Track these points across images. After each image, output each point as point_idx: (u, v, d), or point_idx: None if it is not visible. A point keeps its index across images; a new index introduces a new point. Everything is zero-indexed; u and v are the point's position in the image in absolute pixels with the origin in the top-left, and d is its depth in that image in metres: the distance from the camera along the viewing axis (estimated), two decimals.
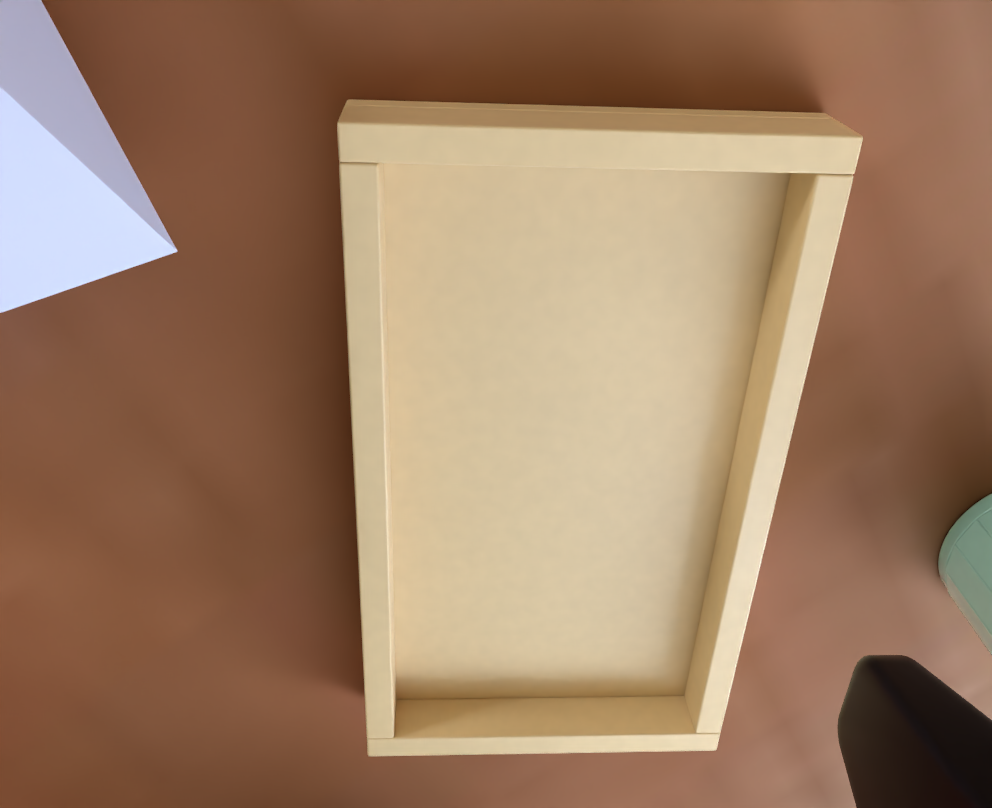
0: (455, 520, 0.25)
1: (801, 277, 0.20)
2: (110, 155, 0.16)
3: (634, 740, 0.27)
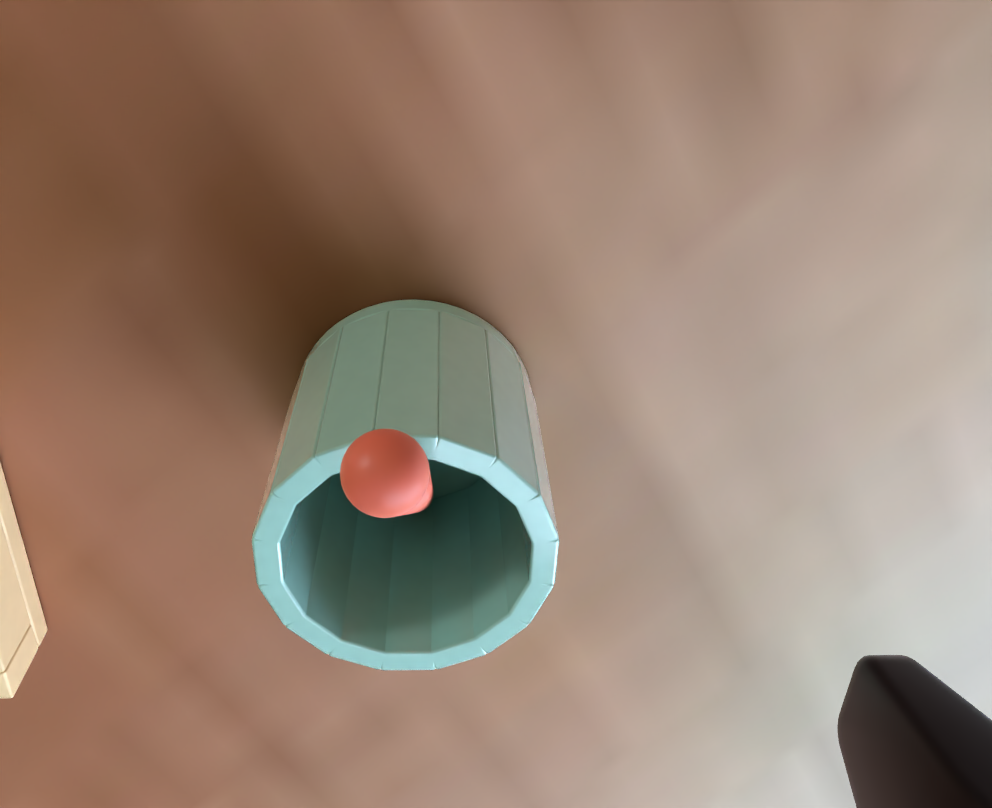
0: None
1: None
2: None
3: None
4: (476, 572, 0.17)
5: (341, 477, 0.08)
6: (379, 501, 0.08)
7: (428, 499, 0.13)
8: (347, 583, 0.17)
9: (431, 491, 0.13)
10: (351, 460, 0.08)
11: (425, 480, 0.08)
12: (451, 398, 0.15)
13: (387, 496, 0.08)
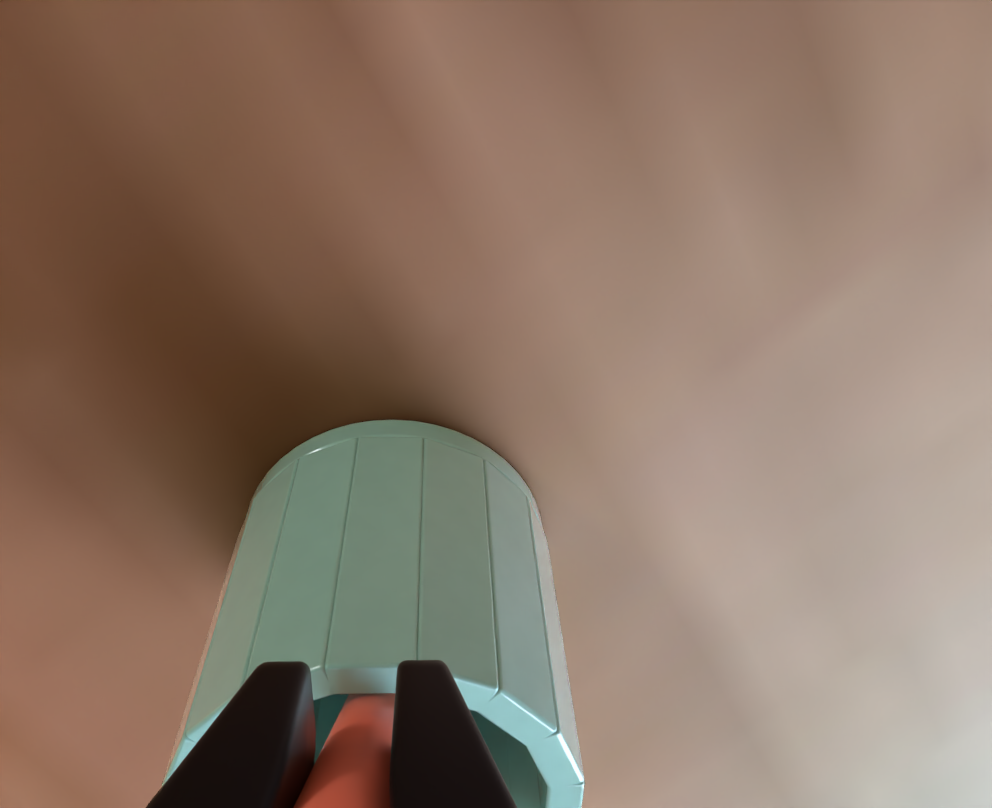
0: None
1: None
2: None
3: None
4: None
5: None
6: None
7: None
8: None
9: None
10: None
11: None
12: (436, 589, 0.11)
13: None
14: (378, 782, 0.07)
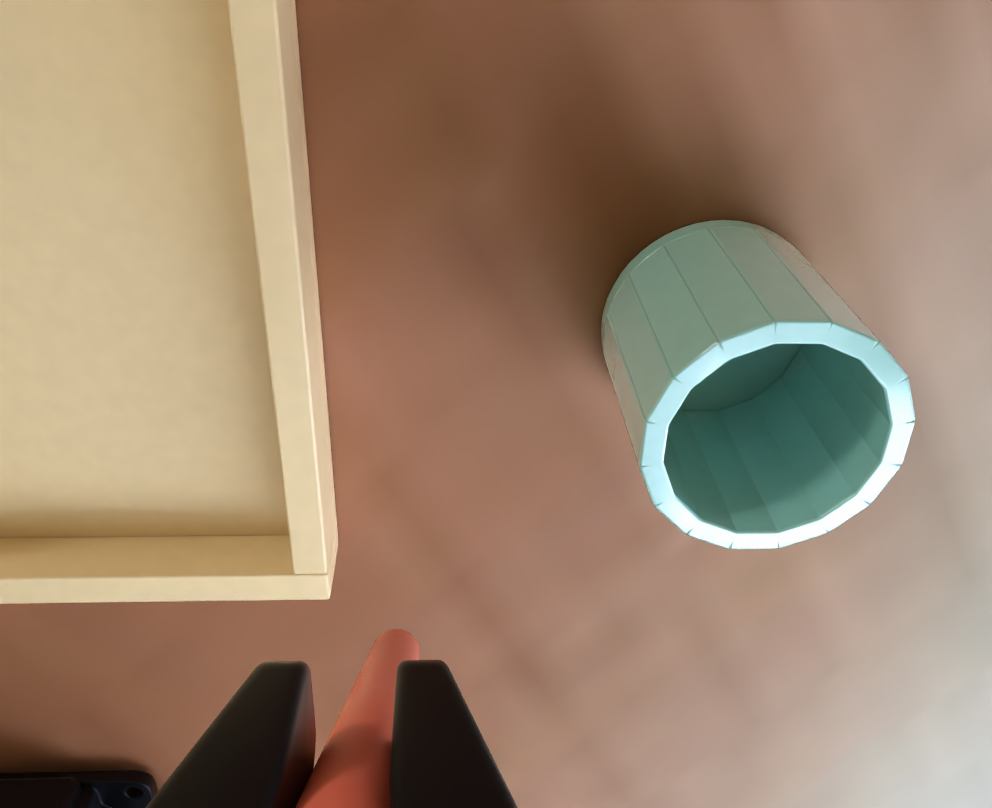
0: None
1: None
2: None
3: (215, 584, 0.21)
4: (797, 465, 0.19)
5: None
6: None
7: None
8: (684, 475, 0.18)
9: None
10: None
11: None
12: (817, 294, 0.16)
13: None
14: (380, 782, 0.07)
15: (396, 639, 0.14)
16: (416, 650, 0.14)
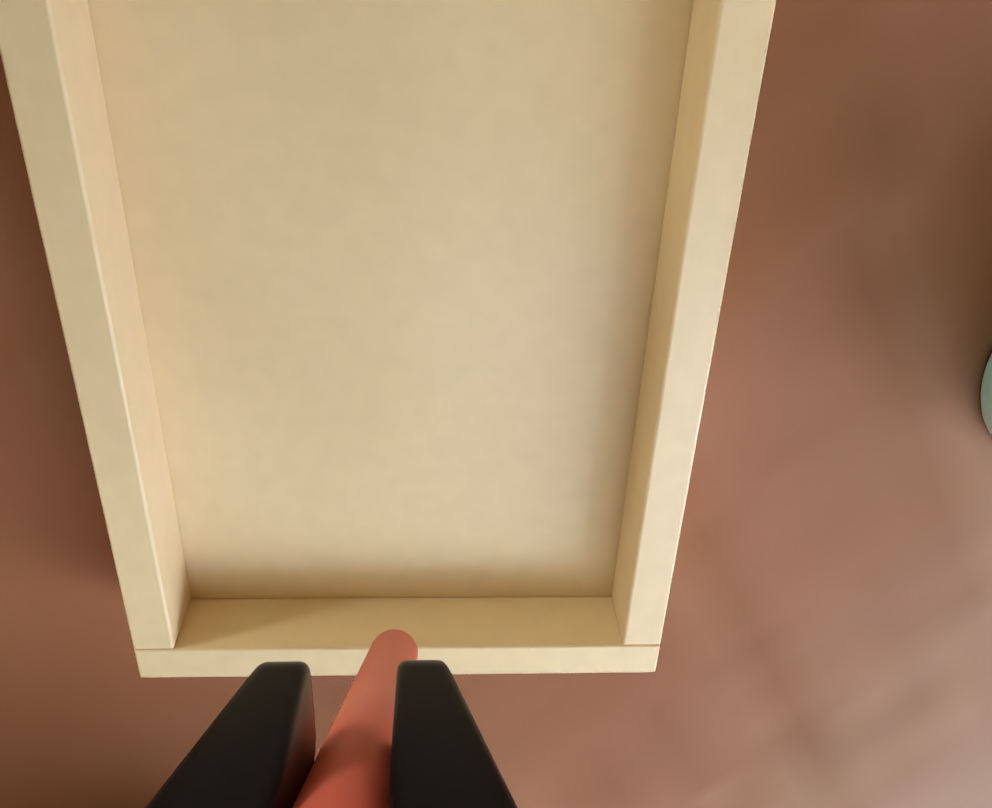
0: (240, 300, 0.16)
1: None
2: None
3: (533, 655, 0.19)
4: None
5: None
6: None
7: None
8: None
9: None
10: None
11: None
12: None
13: None
14: (379, 781, 0.07)
15: (394, 639, 0.14)
16: (414, 650, 0.14)
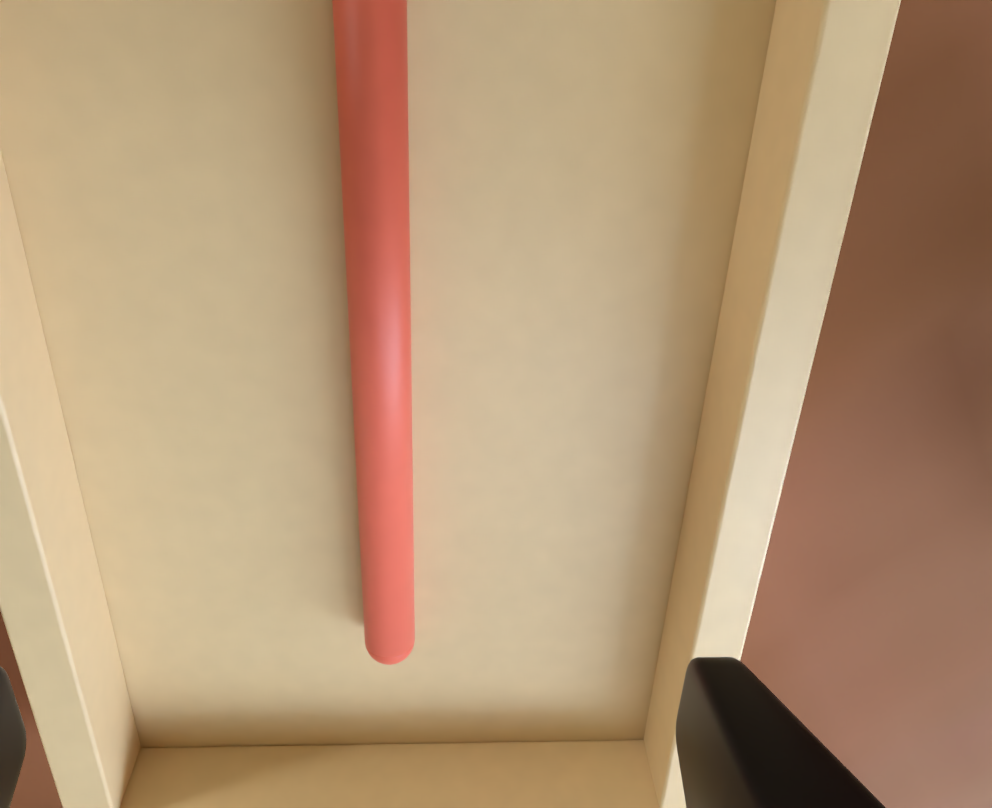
0: (189, 413, 0.13)
1: None
2: None
3: None
4: None
5: None
6: None
7: (403, 262, 0.11)
8: None
9: (408, 266, 0.11)
10: None
11: None
12: None
13: None
14: None
15: None
16: None
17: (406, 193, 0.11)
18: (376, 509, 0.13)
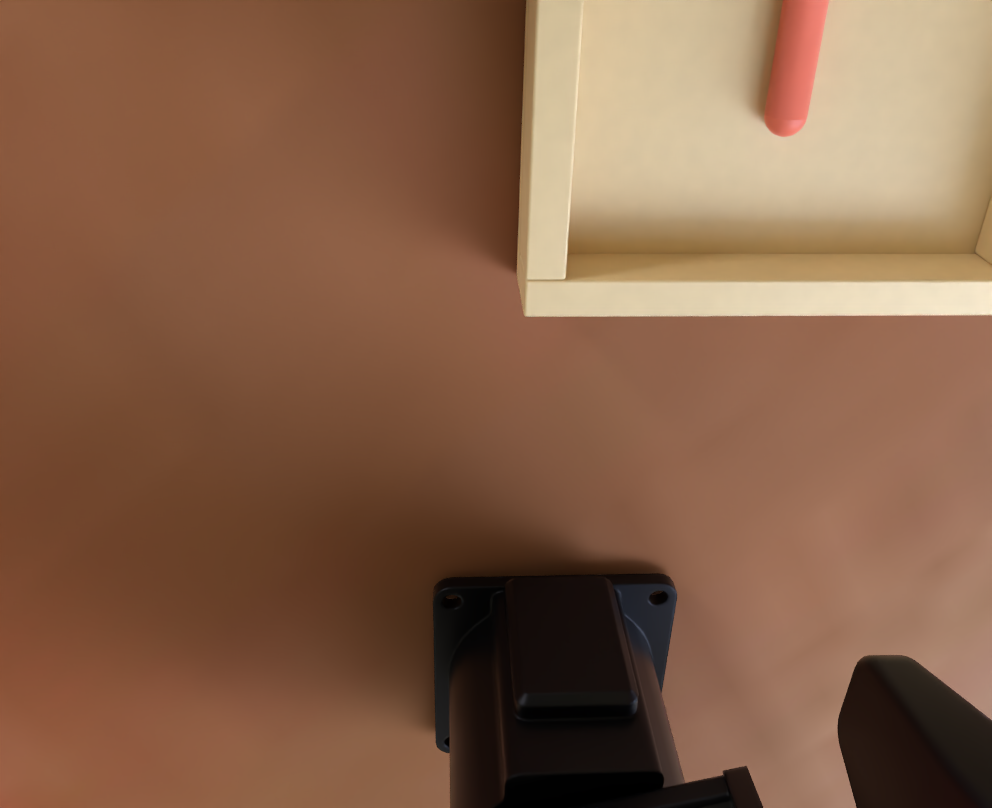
0: None
1: None
2: None
3: (918, 292, 0.18)
4: None
5: None
6: None
7: None
8: None
9: None
10: None
11: None
12: None
13: None
14: None
15: None
16: None
17: None
18: None
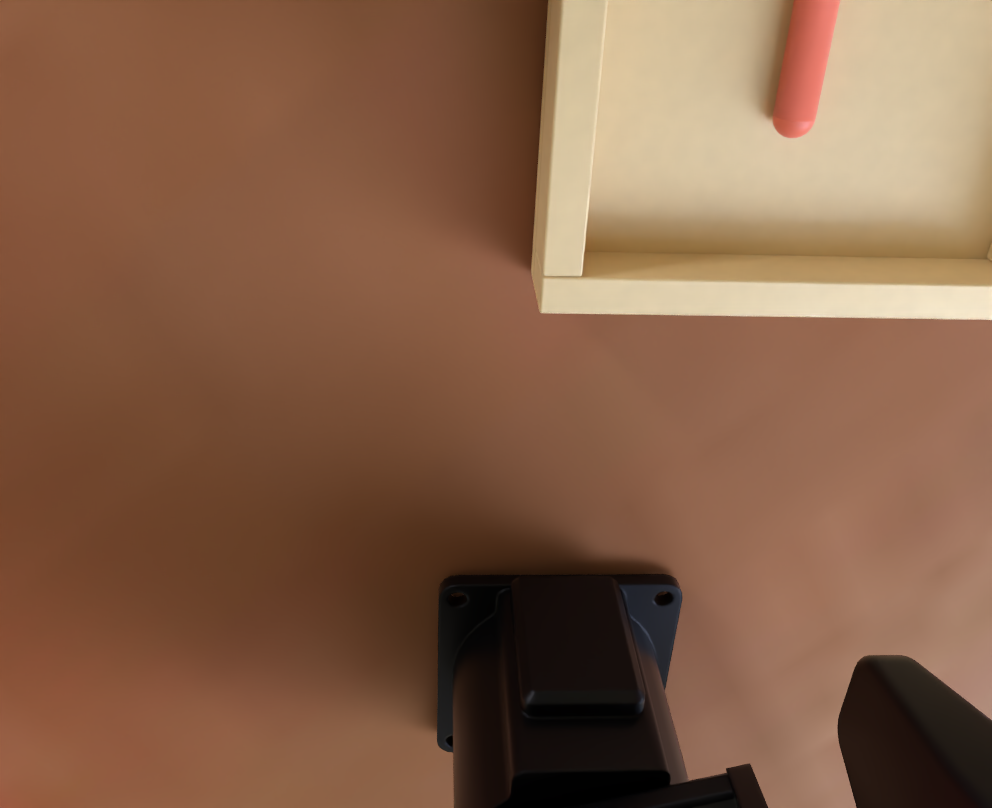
0: None
1: None
2: None
3: (932, 296, 0.18)
4: None
5: None
6: None
7: None
8: None
9: None
10: None
11: None
12: None
13: None
14: None
15: None
16: (823, 74, 0.17)
17: None
18: None
